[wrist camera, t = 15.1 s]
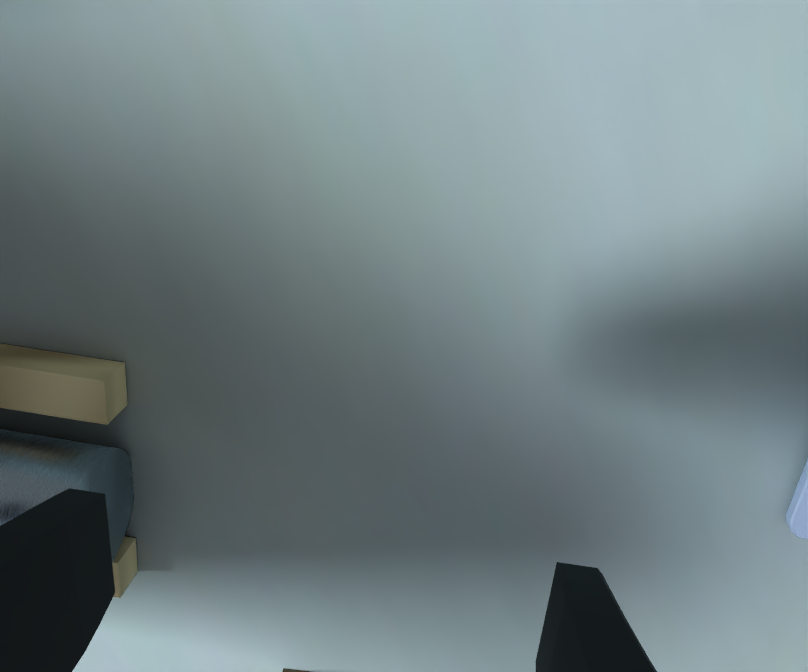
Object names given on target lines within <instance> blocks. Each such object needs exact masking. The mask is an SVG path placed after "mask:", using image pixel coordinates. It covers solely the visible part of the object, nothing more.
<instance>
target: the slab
mask: <svg viewBox="0 0 808 672" xmlns="http://www.w3.org/2000/svg"><path fill="white" fill-rule="evenodd" d="M283 672H309V671H301V670H292V669H283Z"/></svg>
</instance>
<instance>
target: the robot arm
mask: <svg viewBox="0 0 808 672" xmlns="http://www.w3.org/2000/svg"><path fill="white" fill-rule="evenodd" d="M785 520H786V522H787V525H788V526H789V528H790V530H791V532H792V533H793V534H795V535H796V536H798V537H801V538H804V539H808V459H807V462H806V464H805V467H804V470H803V472H802V475H801V477H800V480H799V482H798V485H797V487H796V490H795V493H794V495H793V498H792V500H791V503H790V505H789V508H788V511H787V513H786V519H785ZM114 594H115V585H114V575H113V565H112V556H111V546H110V536H109V526H108V517H107V507H106V497H105V494H104V493H97V492H91V491H84V490H78V489H71V488H69V489H67V490H65V491H63V492H61V493H59V494H57V495H55V496H53V497H51V498H49V499H47V500H46V501H44V502H42V503H40V504H38V505H36V506H35V507H33V508H31V509H29V510H27V511H26V512H24V513H22V514H20V515H19V516H17V517H15V518H13V519H12V520H10V521H8V522H6V523H4V524H3V525H1V526H0V672H72V671H73V669H74V668H75V666H76V665H77V663H78V662H79V660H80V658H81V657H82V655H83V654H84V652H85V651H86V649H87V647H88V645H89V643H90V641H91V639H92V637H93V636H94V634H95V632H96V630H97V628H98V626H99V624H100V622H101V620H102V618H103V616H104V614H105V612H106V610H107V608H108V606H109V604H110V602H111V600H112V598H113V596H114ZM536 672H657V671H656V669H655V668H654V666H653V665H652V663H651V661H650V660H649V658H648V656H647V655H646V653H645V651H644V650H643V648H642V646H641V644H640V643H639V641H638V639H637V637H636V636H635V634H634V632H633V630H632V629H631V627H630V625H629V623H628V622H627V620H626V618H625V616H624V614H623V612H622V611H621V609H620V607H619V605H618V603H617V601H616V599H615V597H614V596H613V594H612V592H611V590H610V588H609V586H608V584H607V582H606V580H605V578H604V576H603V575H602V573H601V572H600V571H599V569H598V568H592V567H586V566H579V565H572V564H566V563H559V562H557V564H556V569H555V574H554V579H553V583H552V588H551V593H550V597H549V602H548V607H547V611H546V616H545V621H544V625H543V630H542V635H541V639H540V644H539V649H538V653H537V658H536Z"/></svg>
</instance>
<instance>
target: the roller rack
mask: <svg viewBox="0 0 808 672" xmlns="http://www.w3.org/2000/svg"><path fill="white" fill-rule="evenodd" d="M127 405H128V403H127V387H126V370H125V363H124V362H118V361H111V360H105V359H98V358H92V357H85V356H79V355H72V354H66V353H59V352H53V351H46V350H40V349H33V348H27V347H20V346H14V345H7V344H1V343H0V408H5V409H11V410H17V411H24V412H30V413H36V414H42V415H49V416H55V417H61V418H67V419H73V420H80V421H86V422H92V423H98V424H105V425H108V424H109V423H110V422H111V421H112V420H113V419H114V418H115V417H116V416H117V415H118V414H119V413H120V412H121V411H122V410H123V409H124V408H125V407H126V406H127ZM112 565H113V575H114V585H115V594H114V596H113V597H119V598H121V596H122V595H123V593H124V592H125V590H126V589H127V587H128V586H129V584H130V583H131V581H132V580H133V578H134V577H135V575H136V574H137V572H138V566H137V549H136V538H131V537H125V536H124V539H123V541H122V544H121V546H120V548H119V550H118V552H117V554H116V556H115V558H114V560H113V562H112Z"/></svg>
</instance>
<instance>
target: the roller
mask: <svg viewBox="0 0 808 672" xmlns="http://www.w3.org/2000/svg"><path fill="white" fill-rule="evenodd" d="M69 488H71V489H78V490H84V491H91V492H97V493H104V494H105V497H106V507H107V517H108V526H109V536H110V546H111V556H112V562H113V560H114V558H115V556H116V554H117V552H118V550H119V548H120V546H121V544H122V541H123V539H124V536H125V533H126V530H127V527H128V524H129V520H130V516H131V511H132V506H133V499H134V495H133V479H132V463H131V459H130V457H129V456H128V454H127V453H126V452H125V451H124V450H122V449H120V448H114V447H107V446H101V445H95V444H89V443H83V442H77V441H70V440H64V439H58V438H52V437H46V436H39V435H33V434H27V433H21V432H15V431H9V430H2V429H0V526H1V525H3V524H4V523H6V522H8V521H10V520H12V519H13V518H15V517H17V516H19V515H20V514H22V513H24V512H26V511H27V510H29V509H31V508H33V507H35V506H36V505H38V504H40V503H42V502H44V501H46V500H47V499H49V498H51V497H53V496H55V495H57V494H59V493H61V492H63V491H65V490H67V489H69Z"/></svg>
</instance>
